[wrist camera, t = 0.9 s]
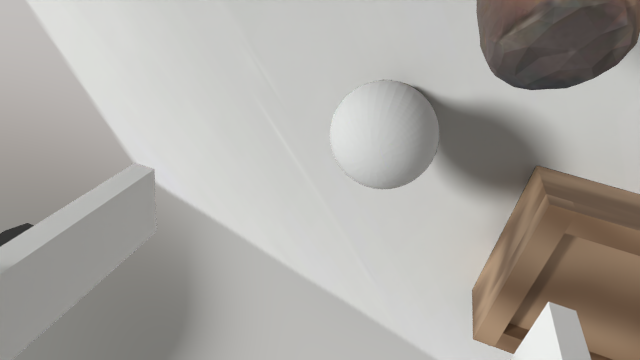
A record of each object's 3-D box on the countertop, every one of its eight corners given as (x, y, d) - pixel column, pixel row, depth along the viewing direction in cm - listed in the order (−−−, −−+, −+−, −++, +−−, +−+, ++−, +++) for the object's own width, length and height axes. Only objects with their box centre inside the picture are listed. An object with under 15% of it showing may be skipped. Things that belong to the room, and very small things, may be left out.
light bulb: (408, 35, 27) (382, 72, 18) (463, 105, 28) (461, 172, 19) (342, 90, 30) (293, 144, 21) (393, 152, 31) (365, 227, 22)
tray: (536, 165, 28) (549, 204, 24) (733, 221, 26) (788, 275, 22) (472, 290, 34) (473, 339, 30) (627, 343, 32) (652, 404, 28)
